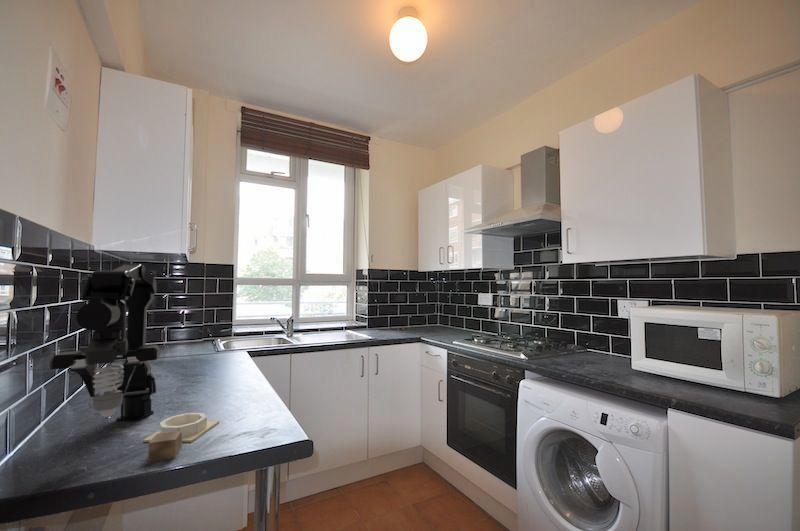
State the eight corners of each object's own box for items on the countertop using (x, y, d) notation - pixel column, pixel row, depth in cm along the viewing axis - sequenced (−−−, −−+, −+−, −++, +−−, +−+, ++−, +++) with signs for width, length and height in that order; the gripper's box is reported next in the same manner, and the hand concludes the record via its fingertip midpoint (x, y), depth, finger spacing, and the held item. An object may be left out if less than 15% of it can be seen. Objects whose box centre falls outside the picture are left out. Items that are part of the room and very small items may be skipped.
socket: (142, 441, 86) (143, 429, 86) (176, 422, 98) (176, 411, 98) (191, 442, 86) (191, 429, 86) (219, 422, 97) (219, 411, 98)
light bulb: (103, 413, 84) (105, 361, 84) (129, 412, 84) (130, 360, 85) (84, 422, 78) (86, 366, 78) (112, 421, 78) (113, 366, 79)
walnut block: (148, 462, 76) (148, 443, 77) (156, 451, 81) (156, 433, 81) (175, 458, 78) (175, 439, 78) (181, 448, 83) (181, 430, 83)
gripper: (39, 332, 71) (36, 413, 70) (153, 326, 79) (152, 398, 78) (61, 326, 81) (59, 397, 80) (160, 321, 89) (159, 385, 88)
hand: (108, 394), depth 81 cm, fingers closed on light bulb, 5 cm apart
